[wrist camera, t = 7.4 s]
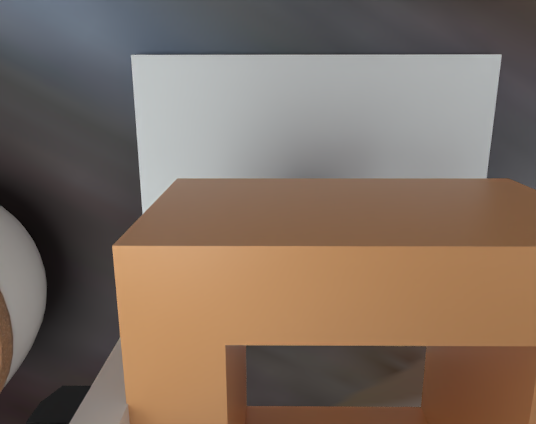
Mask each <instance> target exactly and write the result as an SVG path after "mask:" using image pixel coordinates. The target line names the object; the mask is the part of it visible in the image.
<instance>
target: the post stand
mask: <svg viewBox="0 0 536 424" xmlns="http://www.w3.org/2000/svg"><path fill="white" fill-rule="evenodd" d="M501 56H502V54H446V55H131V62H132V75H133V89H134V103H135V116H136V130H137V144H138V157H139V171H140V185H141V198H142V212H143V213H144V212H145V211H146V210H147V209H148V208H149V207H150V206H151V205H152V204H153V203H154V202H155V201H156V200H157V199H158V198H159V197H160V196H161V195H162V194H163V193H164V192H165V191H166V190H167V189H168V188H169V187H170V185H171V184H172V183H173V182H174V181H175V180H176V179H177V178H487V170H488V162H489V154H490V146H491V138H492V130H493V122H494V113H495V105H496V97H497V89H498V81H499V73H500V65H501Z"/></svg>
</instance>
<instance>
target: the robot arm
mask: <svg viewBox="0 0 536 424" xmlns="http://www.w3.org/2000/svg"><path fill="white" fill-rule="evenodd" d="M26 424H130V421H129V409H128V404H126V395H125V383H124V372H123V361H122V350H121V338H119V340H118V342H117V344H116V345H115V347H114V349H113V350H112V352H111V354H110V355H109V357H108V359H107V360H106V362H105V364H104V366H103V367H102V369H101V371H100V372H99V374H98V376H97V377H96V379H95V381H94V382H93V384H92V386H62V387H60V388H59V389H58V390H56V391H55V392H54V393H52V394H51V395H50V396H48V397H47V398H46V399H44V400H43V401H42V402H40V404H39V405H38V406H37V408H36V409H35V411H34V412H33V413H32V415H31V416H30V418H29V419H28V420H27V422H26Z"/></svg>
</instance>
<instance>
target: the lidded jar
mask: <svg viewBox="0 0 536 424" xmlns="http://www.w3.org/2000/svg"><path fill="white" fill-rule="evenodd" d="M46 299H47V281H46V274H45V269H44V266H43V262H42V259H41V256H40V253H39V251H38V249H37V247H36V245H35V243H34V241H33V239H32V238H31V236H30V235H29V233H28V232H27V230H26V229H25V228H24V227H23V226H22V224H21V223H20V222H19V221H18V220H17V219H16V218H15V217H14V216H13V215H12V214H10V213H9V212H8V211H7V210H6V209H5V208H3V207H2V206H0V392H1V391H2V389H3V388H4V387H5V385H6V384H7V383H8V382H9V380H10V379H11V378H12V376H13V375H14V374H15V373H16V371H17V370H18V368H19V367H20V365H21V363H22V362H23V360H24V359H25V357H26V356H27V354H28V352H29V351H30V349H31V347H32V345H33V343H34V340H35V338H36V336H37V333H38V331H39V328H40V326H41V324H42V321H43V317H44V312H45V307H46Z"/></svg>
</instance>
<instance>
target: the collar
mask: <svg viewBox="0 0 536 424" xmlns="http://www.w3.org/2000/svg"><path fill="white" fill-rule="evenodd" d="M112 249H113V260H114V271H115V282H116V294H117V305H118V316H119V327H120V338H121V350H122V361H123V372H124V383H125V395H126V404H128V409H129V421H130V424H536V190H535V189H532V188H530V187H528V186H525V185H523V184H520V183H518V182H516V181H513V180H511V179H504V178H177V179H176V180H175V181H174V182H173V183H172V184H171V185H170V187H169V188H168V189H167V190H166V191H165V192H164V193H163V194H162V195H161V196H160V197H159V198H158V199H157V200H156V201H155V202H154V203H153V204H152V205H151V206H150V207H149V208H148V209H147V210H146V211H145V212H144V213H143V214H142V216H141V217H140V218H139V219H138V220H137V221H136V222H135V223H134V224H133V225H132V226H131V227H130V228H129V229H128V230H127V231H126V232H125V233H124V234H123V235H122V236H121V237H120V238H119V239H118V240H117V241H116V242H115V243H114V245H113V246H112ZM246 345H319V346H427V348H426V358H425V370H424V381H423V392H422V403H421V407H312V406H247V393H246Z"/></svg>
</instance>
